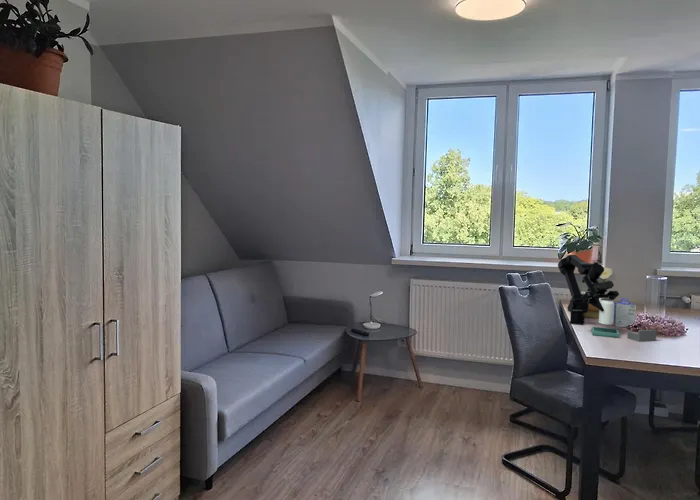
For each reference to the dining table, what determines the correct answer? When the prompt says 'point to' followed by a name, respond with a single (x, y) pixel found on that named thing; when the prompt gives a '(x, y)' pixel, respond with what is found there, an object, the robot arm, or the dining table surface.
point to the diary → (592, 312)
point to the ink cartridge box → (624, 313)
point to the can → (606, 312)
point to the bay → (643, 335)
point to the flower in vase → (605, 276)
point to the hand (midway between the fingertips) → (608, 310)
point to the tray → (605, 332)
